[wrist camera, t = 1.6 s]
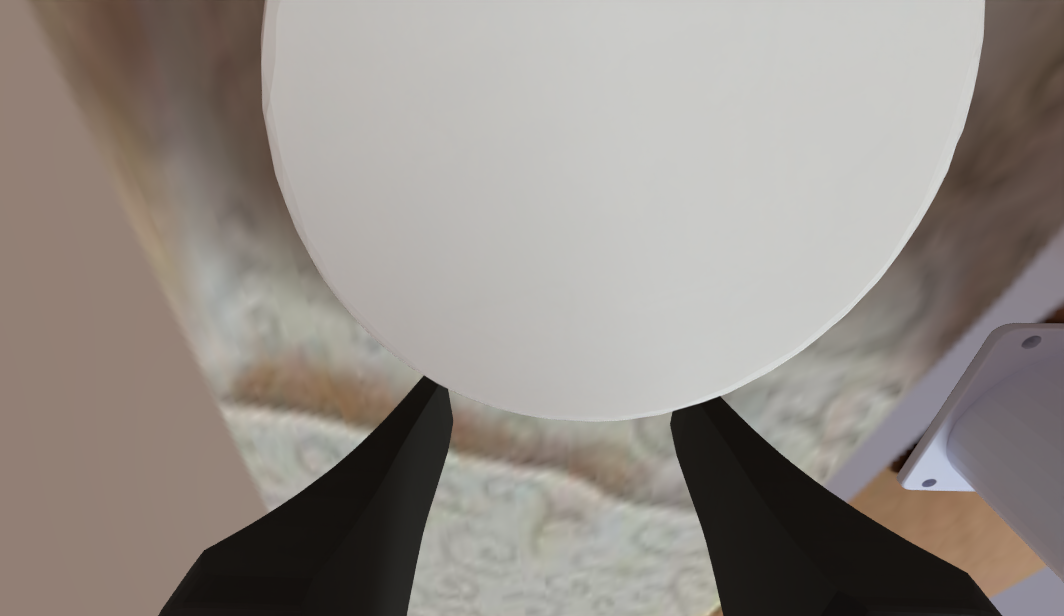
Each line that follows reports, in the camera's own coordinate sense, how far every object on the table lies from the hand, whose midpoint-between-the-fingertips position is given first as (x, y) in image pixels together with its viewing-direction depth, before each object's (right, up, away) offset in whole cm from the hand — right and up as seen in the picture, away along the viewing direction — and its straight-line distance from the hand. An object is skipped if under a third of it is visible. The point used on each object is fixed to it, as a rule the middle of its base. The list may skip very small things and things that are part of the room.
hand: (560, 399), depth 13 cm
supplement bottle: (0, +9, -2) cm, 9 cm away
